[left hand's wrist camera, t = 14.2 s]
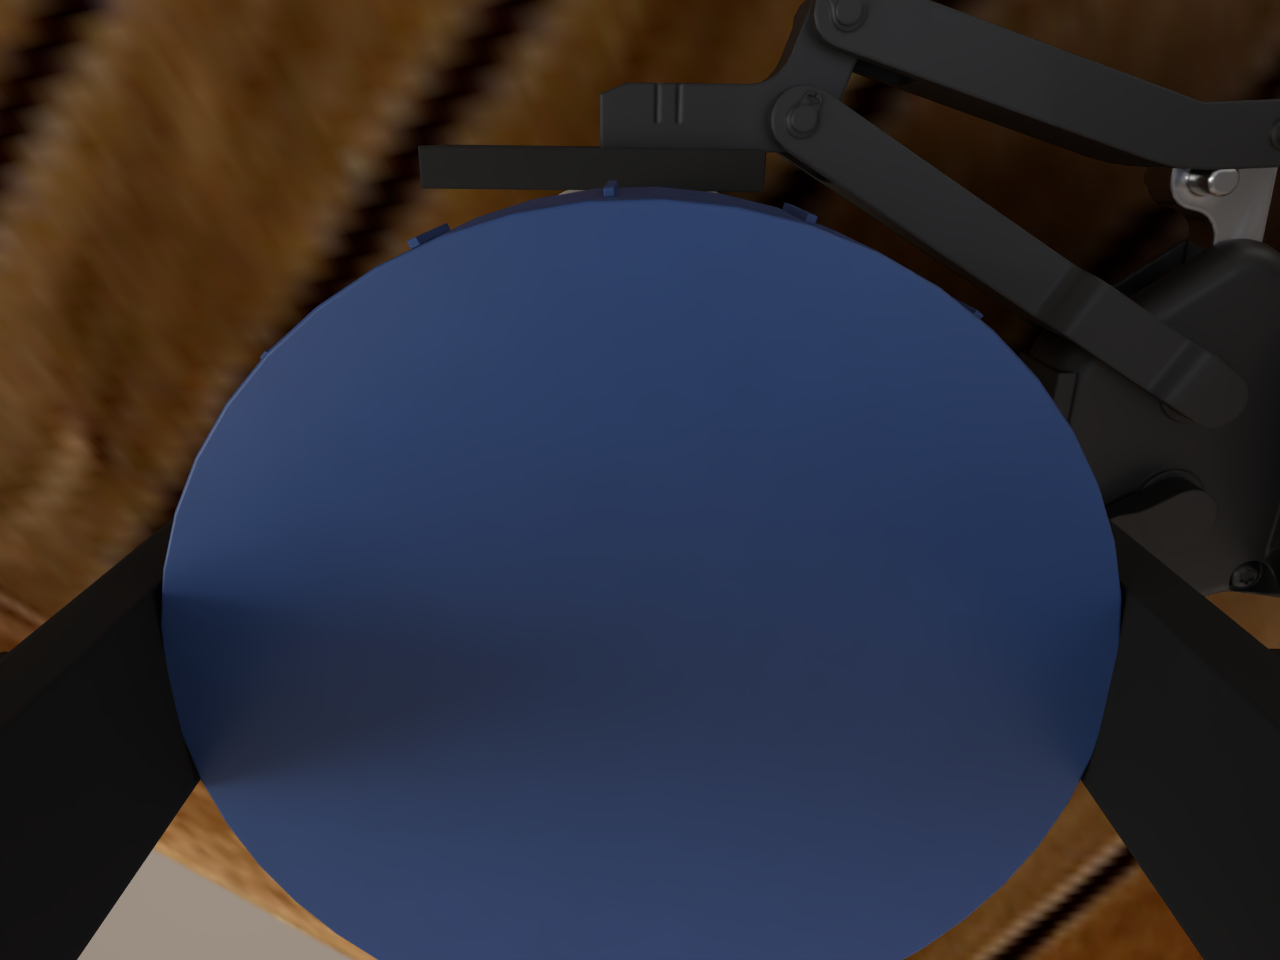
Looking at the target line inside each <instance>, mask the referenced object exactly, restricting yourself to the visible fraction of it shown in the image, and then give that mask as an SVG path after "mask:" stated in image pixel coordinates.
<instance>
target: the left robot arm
mask: <svg viewBox="0 0 1280 960" xmlns="http://www.w3.org/2000/svg"><path fill="white" fill-rule="evenodd" d="M173 520H174V518H173V519H171V520H170V521H169V522H168V523H166V524H165V525H164V526H163V527H162V528H160V529H159V530H158V531H157V532H155V533H154V534H153V535H152V536H151V537H149V538H148V539H147V540H146V541H144V542H143V543H142V544H141V545H140V546H138V547H137V548H136V549H135V550H133V551H132V552H131V553H130V554H128V555H127V556H126V557H125V558H124V559H122V560H121V561H120V562H119V563H117V564H116V565H115V566H114V567H113V568H111V569H110V570H109V571H108V572H106V573H105V574H104V575H103V576H102V577H100V578H99V579H98V580H97V581H95V582H94V583H93V584H92V585H91V586H89V587H88V588H87V589H86V590H84V591H83V592H82V593H81V594H80V595H78V596H77V597H76V598H75V599H73V600H72V601H71V602H70V603H68V604H67V605H66V606H65V607H64V608H62V609H61V610H60V611H59V612H57V613H56V614H55V615H54V616H53V617H51V618H50V619H49V620H48V621H46V622H45V623H44V624H43V625H42V626H40V627H39V628H38V629H37V630H35V631H34V632H33V633H32V634H31V635H29V636H28V637H27V638H26V639H24V640H23V641H22V642H21V643H20V644H18V645H17V646H16V647H15V648H13V649H12V650H11V651H10V652H1V653H0V960H77V959H78V957H79V956H80V955H81V953H82V952H83V950H84V949H85V947H86V946H87V944H88V943H89V941H90V940H91V938H92V937H93V936H94V934H95V933H96V931H97V930H98V928H99V927H100V925H101V924H102V922H103V921H104V919H105V918H106V917H107V915H108V914H109V912H110V911H111V909H112V908H113V906H114V905H115V903H116V902H117V900H118V899H119V898H120V896H121V895H122V893H123V892H124V890H125V889H126V887H127V886H128V884H129V883H130V881H131V880H132V879H133V877H134V876H135V874H136V873H137V871H138V870H139V868H140V867H141V865H142V864H143V862H144V861H145V860H146V858H147V857H148V855H149V854H150V852H151V851H152V849H153V848H154V846H155V845H156V843H157V842H158V841H159V839H160V838H161V836H162V835H163V833H164V832H165V830H166V829H167V827H168V826H169V824H170V823H171V821H172V820H173V819H174V817H175V816H176V814H177V813H178V811H179V810H180V808H181V807H182V805H183V804H184V802H185V801H186V800H187V798H188V797H189V795H190V794H191V792H192V791H193V789H194V788H195V786H196V785H197V783H198V782H199V781H200V776H199V774H198V772H197V769H196V767H195V765H194V762H193V760H192V757H191V755H190V753H189V750H188V748H187V746H186V743H185V741H184V738H183V735H182V731H181V727H180V723H179V719H178V714H177V710H176V706H175V702H174V697H173V693H172V688H171V684H170V679H169V675H168V670H167V665H166V660H165V655H164V650H163V641H162V632H161V609H162V587H163V568H164V564H165V559H166V554H167V549H168V544H169V539H170V534H171V529H172V524H173ZM1109 523H1110V527H1111V530H1112V534H1113V537H1114V541H1115V548H1116V556H1117V564H1118V573H1119V581H1120V590H1121V598H1122V602H1121V628H1120V640H1119V645H1118V651H1117V655H1116V660H1115V664H1114V669H1113V673H1112V678H1111V682H1110V686H1109V691H1108V695H1107V700H1106V704H1105V708H1104V713H1103V717H1102V722H1101V726H1100V730H1099V734H1098V738H1097V742H1096V746H1095V749H1094V752H1093V755H1092V758H1091V760H1090V761H1089V763H1088V765H1087V767H1086V769H1085V771H1084V773H1083V775H1082V777H1081V781H1082V782H1083V784H1084V785H1085V787H1086V788H1087V789H1088V791H1089V792H1090V794H1091V795H1092V797H1093V798H1094V800H1095V801H1096V803H1097V804H1098V806H1099V807H1100V808H1101V810H1102V811H1103V813H1104V814H1105V816H1106V817H1107V819H1108V820H1109V822H1110V823H1111V825H1112V826H1113V827H1114V829H1115V830H1116V832H1117V833H1118V835H1119V836H1120V838H1121V839H1122V841H1123V842H1124V844H1125V845H1126V846H1127V848H1128V849H1129V851H1130V852H1131V854H1132V855H1133V857H1134V858H1135V860H1136V861H1137V863H1138V864H1139V865H1140V867H1141V868H1142V870H1143V871H1144V873H1145V874H1146V876H1147V877H1148V879H1149V880H1150V882H1151V883H1152V884H1153V886H1154V887H1155V889H1156V890H1157V892H1158V893H1159V895H1160V896H1161V898H1162V899H1163V901H1164V902H1165V903H1166V905H1167V906H1168V908H1169V909H1170V911H1171V912H1172V914H1173V915H1174V917H1175V918H1176V920H1177V921H1178V922H1179V924H1180V925H1181V927H1182V928H1183V930H1184V931H1185V933H1186V934H1187V936H1188V937H1189V939H1190V940H1191V941H1192V943H1193V944H1194V946H1195V947H1196V949H1197V950H1198V952H1199V953H1200V955H1201V956H1202V958H1203V959H1204V960H1280V649H1268V648H1266V647H1265V646H1264V645H1263V644H1262V643H1260V642H1259V641H1258V640H1257V639H1255V638H1254V637H1253V636H1252V635H1251V634H1249V633H1248V632H1247V631H1246V630H1244V629H1243V628H1242V627H1241V626H1239V625H1238V624H1237V623H1236V622H1235V621H1233V620H1232V619H1231V618H1230V617H1228V616H1227V615H1226V614H1225V613H1224V612H1222V611H1221V610H1220V609H1219V608H1217V607H1216V606H1215V605H1214V604H1213V603H1211V602H1210V601H1209V600H1208V599H1206V598H1205V597H1204V596H1203V595H1201V594H1200V593H1199V592H1198V591H1197V590H1195V589H1194V588H1193V587H1192V586H1190V585H1189V584H1188V583H1187V582H1186V581H1184V580H1183V579H1182V578H1181V577H1179V576H1178V575H1177V574H1176V573H1175V572H1173V571H1172V570H1171V569H1170V568H1168V567H1167V566H1166V565H1165V564H1164V563H1162V562H1161V561H1160V560H1159V559H1157V558H1156V557H1155V556H1154V555H1152V554H1151V553H1150V552H1149V551H1148V550H1146V549H1145V548H1144V547H1143V546H1141V545H1140V544H1139V543H1138V542H1137V541H1135V540H1134V539H1133V538H1132V537H1130V536H1129V535H1128V534H1127V533H1126V532H1124V531H1123V530H1122V529H1121V528H1119V527H1118V526H1117V525H1116V524H1115V523H1113V522H1112V521H1111V520H1110V519H1109Z"/></svg>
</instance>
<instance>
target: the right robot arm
mask: <svg viewBox="0 0 1280 960" xmlns="http://www.w3.org/2000/svg"><path fill="white" fill-rule="evenodd" d="M852 72H853V73H856V74H859V75H862V76H864V77H867V78H870V79H873V80H876V81H878V82H881V83H884V84H887V85H890V86H892V87H895V88H898V89H901V90H903V91H906V92H909V93H912V94H915V95H917V96H920V97H923V98H926V99H928V100H931V101H934V102H937V103H940V104H942V105H945V106H948V107H951V108H953V109H956V110H959V111H962V112H965V113H967V114H970V115H973V116H976V117H979V118H981V119H984V120H987V121H990V122H992V123H995V124H998V125H1001V126H1004V127H1006V128H1009V129H1012V130H1015V131H1017V132H1020V133H1023V134H1026V135H1029V136H1031V137H1034V138H1037V139H1040V140H1042V141H1045V142H1048V143H1051V144H1054V145H1056V146H1059V147H1062V148H1065V149H1067V150H1070V151H1073V152H1076V153H1079V154H1081V155H1084V156H1087V157H1090V158H1094V159H1097V160H1101V161H1104V162H1108V163H1115V164H1122V165H1128V166H1144V167H1148V168H1147V170H1146V172H1145V175H1144V182H1145V184H1146V186H1147V188H1148V191H1149V195H1150V196H1151V197H1152V199H1153V200H1154V201H1155V202H1157V203H1158V204H1159V205H1162V206H1166V207H1170V208H1174V209H1176V210H1178V211H1179V212H1181V213H1182V214H1183V215H1184V217H1185V218H1186V220H1187V222H1188V226H1189V238H1187V239H1185V240H1182V241H1180V242H1178V243H1176V244H1175V245H1173V246H1172V247H1170V248H1168V249H1167V250H1165V251H1164V252H1162V253H1160V254H1159V255H1157V256H1156V257H1154V258H1153V259H1151V260H1149V261H1148V262H1146V263H1145V264H1143V265H1141V266H1140V267H1138V268H1137V269H1135V270H1133V271H1132V272H1130V273H1129V274H1127V275H1126V276H1124V277H1122V278H1121V279H1119V280H1118V281H1116V282H1114V283H1113V284H1111V285H1109V284H1108V283H1106V282H1105V281H1103V280H1101V279H1100V278H1098V277H1096V276H1095V275H1093V274H1091V273H1089V272H1087V271H1085V270H1083V269H1081V268H1079V267H1078V266H1076V265H1074V264H1073V263H1071V262H1070V261H1068V260H1067V259H1065V258H1064V257H1062V256H1061V255H1060V254H1058V253H1057V252H1055V251H1054V250H1052V249H1051V248H1050V247H1048V246H1047V245H1045V244H1044V243H1042V242H1041V241H1040V240H1038V239H1037V238H1035V237H1034V236H1032V235H1031V234H1029V233H1028V232H1027V231H1025V230H1024V229H1022V228H1021V227H1019V226H1018V225H1017V224H1015V223H1014V222H1012V221H1011V220H1009V219H1008V218H1007V217H1005V216H1004V215H1002V214H1001V213H999V212H998V211H996V210H995V209H994V208H992V207H991V206H989V205H988V204H986V203H985V202H984V201H982V200H981V199H979V198H978V197H976V196H975V195H974V194H972V193H971V192H969V191H968V190H966V189H965V188H964V187H962V186H961V185H959V184H958V183H956V182H955V181H953V180H952V179H951V178H949V177H948V176H946V175H945V174H943V173H942V172H941V171H939V170H938V169H936V168H935V167H933V166H932V165H931V164H929V163H928V162H926V161H925V160H923V159H922V158H921V157H919V156H918V155H916V154H915V153H913V152H912V151H910V150H909V149H908V148H906V147H905V146H903V145H902V144H900V143H899V142H898V141H896V140H895V139H893V138H892V137H890V136H889V135H888V134H886V133H885V132H883V131H882V130H880V129H879V128H877V127H876V126H875V125H873V124H872V123H870V122H869V121H867V120H866V119H865V118H863V117H862V116H860V115H859V114H857V113H856V112H855V111H853V110H852V109H850V108H849V107H847V106H846V105H845V104H843V103H842V102H840V100H841V98H842V95H843V93H844V90H845V88H846V86H847V83H848V81H849V79H850V76H851V74H852ZM418 152H419V165H420V179H421V188H440V189H525V190H590V189H598V188H604V187H605V185H606V184H607V182H608V181H609V180H618V188H629V187H667V188H676V189H685V190H695V191H704V192H764V180H765V163H766V152H776V153H778V154H779V155H781V156H782V157H784V158H785V159H787V160H788V161H790V162H791V163H792V164H794V165H795V166H797V167H798V168H800V169H801V170H803V171H804V172H806V173H807V174H809V175H810V176H812V177H813V178H815V179H816V180H818V181H819V182H821V183H822V184H824V185H825V186H827V187H828V188H830V189H831V190H833V191H834V192H836V193H837V194H839V195H840V196H842V197H843V198H845V199H846V200H847V201H849V202H850V203H852V204H853V205H855V206H856V207H858V208H859V209H861V210H862V211H864V212H865V213H867V214H868V215H870V216H871V217H873V218H874V219H876V220H877V221H879V222H880V223H882V224H883V225H885V226H886V227H888V228H889V229H891V230H892V231H894V232H895V233H897V234H898V235H899V236H901V237H902V238H904V239H905V240H907V241H908V242H910V243H911V244H913V245H914V246H916V247H917V248H919V249H920V250H922V251H923V252H925V253H926V254H928V255H929V256H931V257H932V258H934V259H935V260H937V261H938V262H940V263H941V264H943V265H944V266H946V267H947V268H949V269H950V270H952V271H953V272H954V273H956V274H957V275H959V276H960V277H962V278H963V279H965V280H966V281H968V282H969V283H971V284H972V285H974V286H975V287H977V288H978V289H980V290H981V291H983V292H984V293H986V294H987V295H989V296H990V297H991V298H993V300H994V301H996V302H997V303H998V304H1000V305H1001V306H1003V307H1004V308H1005V309H1007V310H1008V311H1010V312H1011V313H1013V314H1014V315H1016V316H1017V317H1019V318H1020V319H1022V320H1023V321H1025V322H1026V323H1028V324H1029V325H1031V326H1032V327H1034V328H1035V329H1037V330H1038V331H1040V332H1041V334H1040V336H1039V337H1038V338H1037V340H1036V341H1035V343H1034V345H1033V346H1032V348H1031V351H1020V355H1019V358H1020V359H1021V360H1022V361H1023V362H1024V363H1025V365H1026V366H1027V367H1028V368H1029V369H1030V370H1031V371H1032V372H1033V373H1034V374H1035V375H1036V376H1037V378H1038V379H1039V380H1040V382H1041V383H1042V385H1043V386H1044V388H1045V389H1046V391H1047V392H1048V394H1049V395H1050V397H1051V398H1052V400H1053V401H1054V403H1055V404H1056V405H1057V407H1058V408H1059V410H1060V411H1061V413H1062V414H1063V416H1064V417H1065V419H1066V420H1067V422H1068V423H1069V425H1070V426H1071V428H1072V429H1073V431H1074V433H1075V435H1076V437H1077V439H1078V442H1079V444H1080V446H1081V448H1082V450H1083V452H1084V455H1085V457H1086V459H1087V461H1088V463H1089V465H1090V467H1091V470H1092V472H1093V474H1094V476H1095V478H1096V480H1097V483H1098V485H1099V488H1100V491H1101V495H1102V498H1103V502H1104V505H1105V509H1106V512H1107V516H1108V519H1110V520H1111V521H1112V522H1113V523H1115V524H1116V525H1117V526H1118V527H1119V528H1121V529H1122V530H1123V531H1124V532H1126V533H1127V534H1128V535H1129V536H1130V537H1132V538H1133V539H1134V540H1135V541H1137V542H1138V543H1139V544H1140V545H1141V546H1143V547H1144V548H1145V549H1146V550H1148V551H1149V552H1150V553H1151V554H1152V555H1154V556H1155V557H1156V558H1157V559H1159V560H1160V561H1161V562H1162V563H1164V564H1165V565H1166V566H1167V567H1168V568H1170V569H1171V570H1172V571H1173V572H1175V573H1176V574H1177V575H1178V576H1179V577H1181V578H1182V579H1183V580H1184V581H1186V582H1187V583H1188V584H1189V585H1190V586H1192V587H1193V588H1194V589H1195V590H1197V591H1198V592H1199V593H1200V594H1201V595H1203V596H1207V595H1211V594H1214V593H1219V592H1225V591H1234V592H1244V593H1251V594H1258V595H1265V596H1272V597H1280V253H1279V252H1278V251H1277V250H1275V249H1274V248H1272V247H1271V246H1269V245H1267V244H1265V243H1262V240H1263V236H1264V231H1265V226H1266V221H1267V216H1268V211H1269V207H1270V202H1271V197H1272V192H1273V187H1274V182H1275V178H1276V173H1277V168H1278V167H1280V99H1270V100H1247V101H1224V102H1201V101H1199V100H1196V99H1193V98H1191V97H1188V96H1185V95H1183V94H1180V93H1177V92H1175V91H1172V90H1169V89H1167V88H1164V87H1161V86H1159V85H1156V84H1153V83H1151V82H1148V81H1145V80H1143V79H1140V78H1137V77H1134V76H1132V75H1129V74H1126V73H1124V72H1121V71H1118V70H1116V69H1113V68H1110V67H1108V66H1105V65H1102V64H1100V63H1097V62H1094V61H1092V60H1089V59H1086V58H1084V57H1081V56H1078V55H1076V54H1073V53H1070V52H1067V51H1065V50H1062V49H1059V48H1057V47H1054V46H1051V45H1049V44H1046V43H1043V42H1041V41H1038V40H1035V39H1033V38H1030V37H1027V36H1025V35H1022V34H1019V33H1017V32H1014V31H1011V30H1009V29H1006V28H1003V27H1000V26H998V25H995V24H992V23H990V22H987V21H984V20H982V19H979V18H976V17H974V16H971V15H968V14H966V13H963V12H960V11H958V10H955V9H952V8H950V7H947V6H944V5H942V4H939V3H936V2H933V1H931V0H806V1H805V2H804V3H802V4H801V5H800V7H799V9H798V11H797V13H796V14H795V16H794V22H793V28H792V31H791V34H790V36H789V39H788V41H787V44H786V46H785V49H784V51H783V54H782V56H781V59H780V61H779V63H778V65H777V67H776V69H775V70H774V71H773V72H772V74H771V75H770V76H769V77H768V78H766V79H765V80H764V81H762V82H761V83H754V84H703V83H624V84H622V85H620V86H617V87H615V88H613V89H610V90H608V91H605V92H603V93H601V94H600V146H516V145H429V146H418Z"/></svg>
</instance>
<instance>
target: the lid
mask: <svg viewBox="0 0 1280 960" xmlns="http://www.w3.org/2000/svg"><path fill="white" fill-rule="evenodd" d="M817 218H818V217H817V216H816V215H814V214H811V213H809V212H807V211H805V210H802V209H800V208H798V207H796V206H794V205H791V204H788V203H784V206H783V209H780V208H777V207H773V206H769V205H765V204H761V203H757V202H753V201H749V200H745V199H741V198H737V197H733V196H729V195H725V194H721V193H714V192H704V191H695V190H685V189H676V188H667V187H629V188H618V180H609V181H608V182H607V184H606V185H605V187H604V188H598V189H590V190H584V191H579V192H573V193H567V194H561V195H555V196H550V197H544V198H538V199H533V200H530V201H527V202H524V203H521V204H518V205H515V206H511V207H508V208H505V209H502V210H499V211H496V212H493V213H490V214H486V215H483V216H480V217H477V218H475V219H473V220H471V221H469V222H467V223H465V224H462V225H460V226H458V227H456V228H454V229H452V230H450V228H449V226H448V224H447V223H445V224H443V225H441V226H439V227H437V228H434V229H432V230H430V231H428V232H425V233H423V234H421V235H419V236H417V237H414V238H412V239H410V240H408V241H407V242H408V244H409V246H410V248H411V250H409V251H407V252H405V253H403V254H401V255H399V256H397V257H395V258H393V259H391V260H389V261H387V262H385V263H383V264H381V265H379V266H377V267H375V268H373V269H372V270H370V271H369V272H367V273H366V274H364V275H363V276H361V277H360V278H358V279H357V280H356V281H354V282H353V283H351V284H350V285H348V286H347V287H345V288H344V289H342V290H341V291H339V292H338V293H336V294H335V295H333V296H332V297H330V298H329V299H327V300H326V301H324V302H323V303H322V304H320V305H319V306H317V307H316V308H315V309H314V310H313V311H312V312H310V313H309V314H308V315H307V316H306V317H305V318H304V319H303V320H302V321H301V322H300V323H298V324H297V325H296V326H295V327H294V328H293V329H292V330H291V331H290V332H289V333H288V334H287V335H285V336H284V337H283V338H282V339H281V340H280V341H279V342H278V343H277V344H276V345H275V346H273V347H272V348H270V349H268V350H267V351H265V352H264V353H263V355H262V356H261V357H260V358H261V361H260V362H259V363H258V364H257V366H256V367H255V368H254V369H253V371H252V372H251V373H250V374H249V376H248V377H247V378H246V379H245V381H244V382H243V383H242V384H241V386H240V387H239V388H238V389H237V391H236V392H235V393H234V394H233V396H232V397H231V398H230V399H229V401H228V402H227V403H226V405H225V407H224V408H223V410H222V412H221V414H220V415H219V417H218V419H217V421H216V422H215V424H214V426H213V428H212V429H211V431H210V433H209V435H208V436H207V438H206V440H205V442H204V443H203V445H202V447H201V449H200V450H199V452H198V454H197V456H196V458H195V461H194V463H193V466H192V469H191V471H190V474H189V476H188V479H187V482H186V484H185V487H184V490H183V492H182V495H181V498H180V500H179V503H178V506H177V508H176V511H175V515H174V520H173V524H172V529H171V534H170V539H169V544H168V549H167V554H166V559H165V564H164V568H163V587H162V609H161V632H162V641H163V650H164V655H165V660H166V665H167V670H168V675H169V679H170V684H171V688H172V693H173V697H174V702H175V706H176V710H177V714H178V719H179V723H180V727H181V731H182V735H183V738H184V741H185V743H186V746H187V748H188V750H189V753H190V755H191V757H192V760H193V762H194V765H195V767H196V769H197V772H198V774H199V776H200V779H201V781H202V782H203V784H204V786H205V787H206V789H207V791H208V792H209V794H210V796H211V797H212V799H213V801H214V802H215V804H216V806H217V808H218V809H219V811H220V813H221V814H222V816H223V818H224V819H225V821H226V823H227V824H228V826H229V827H230V828H231V829H232V831H233V832H234V833H235V835H236V836H237V837H238V838H239V840H240V841H241V842H242V843H243V845H244V846H245V847H246V849H247V850H248V851H249V852H250V854H251V855H252V856H253V858H254V859H255V860H256V861H257V863H258V864H259V865H260V866H261V867H262V868H263V869H264V870H265V871H266V872H267V873H268V874H269V875H270V876H271V877H272V878H273V879H274V880H275V881H276V882H277V883H278V884H279V885H280V886H281V887H282V888H283V889H284V890H285V891H286V892H287V893H288V894H289V895H290V896H291V897H292V898H293V899H294V900H295V901H296V902H297V903H298V904H300V905H301V906H302V907H303V908H305V909H306V910H307V911H308V912H310V913H311V914H312V915H314V916H315V917H316V918H317V919H319V920H320V921H321V922H322V923H324V924H325V925H326V926H327V927H329V928H330V929H331V930H332V931H334V932H335V933H336V934H338V935H339V936H341V937H343V938H344V939H346V940H347V941H349V942H351V943H352V944H354V945H355V946H357V947H359V948H360V949H362V950H363V951H365V952H366V953H368V954H370V955H371V956H373V957H374V958H376V959H378V960H903V959H905V958H907V957H908V956H910V955H912V954H914V953H916V952H917V951H919V950H921V949H923V948H924V947H926V946H927V945H929V944H930V943H931V942H933V941H934V940H936V939H937V938H939V937H940V936H941V935H943V934H944V933H946V932H947V931H949V930H950V929H951V928H953V927H954V926H956V925H957V924H959V923H960V922H961V921H963V920H964V919H966V918H967V917H968V916H969V915H970V914H971V913H972V912H974V911H975V910H976V909H977V908H978V907H979V906H980V905H981V904H983V903H984V902H985V901H986V900H987V899H988V898H989V897H990V896H992V895H993V894H994V893H995V892H996V891H997V890H998V889H1000V888H1001V887H1002V886H1003V885H1004V884H1005V883H1006V882H1007V881H1008V880H1009V878H1010V877H1011V876H1012V875H1013V874H1014V873H1015V872H1016V871H1017V869H1018V868H1019V867H1020V866H1021V865H1022V864H1023V863H1024V862H1025V861H1026V859H1027V858H1028V857H1029V856H1030V855H1031V854H1032V853H1033V852H1034V850H1035V849H1036V848H1037V847H1038V846H1039V845H1040V843H1041V842H1042V840H1043V839H1044V837H1045V836H1046V834H1047V833H1048V832H1049V830H1050V829H1051V827H1052V826H1053V824H1054V823H1055V821H1056V820H1057V819H1058V817H1059V816H1060V814H1061V813H1062V811H1063V810H1064V808H1065V807H1066V806H1067V804H1068V802H1069V801H1070V799H1071V797H1072V795H1073V793H1074V791H1075V789H1076V787H1077V785H1078V783H1079V781H1080V779H1081V777H1082V775H1083V773H1084V771H1085V769H1086V767H1087V765H1088V763H1089V761H1090V760H1091V758H1092V755H1093V752H1094V749H1095V746H1096V742H1097V738H1098V734H1099V730H1100V726H1101V722H1102V717H1103V713H1104V708H1105V704H1106V700H1107V695H1108V691H1109V686H1110V682H1111V678H1112V673H1113V669H1114V664H1115V660H1116V655H1117V651H1118V645H1119V640H1120V628H1121V602H1122V598H1121V590H1120V581H1119V573H1118V564H1117V556H1116V548H1115V541H1114V537H1113V534H1112V530H1111V527H1110V523H1109V519H1108V516H1107V512H1106V509H1105V505H1104V502H1103V498H1102V495H1101V491H1100V488H1099V485H1098V483H1097V480H1096V478H1095V476H1094V474H1093V472H1092V470H1091V467H1090V465H1089V463H1088V461H1087V459H1086V457H1085V455H1084V452H1083V450H1082V448H1081V446H1080V444H1079V442H1078V439H1077V437H1076V435H1075V433H1074V431H1073V429H1072V428H1071V426H1070V425H1069V423H1068V422H1067V420H1066V419H1065V417H1064V416H1063V414H1062V413H1061V411H1060V410H1059V408H1058V407H1057V405H1056V404H1055V403H1054V401H1053V400H1052V398H1051V397H1050V395H1049V394H1048V392H1047V391H1046V389H1045V388H1044V386H1043V385H1042V383H1041V382H1040V380H1039V379H1038V378H1037V376H1036V375H1035V374H1034V373H1033V372H1032V371H1031V370H1030V369H1029V368H1028V367H1027V366H1026V365H1025V363H1024V362H1023V361H1022V360H1021V359H1020V358H1019V357H1018V356H1017V355H1016V354H1015V353H1014V352H1013V351H1012V349H1011V348H1010V347H1009V346H1008V345H1007V344H1006V343H1005V342H1004V341H1003V340H1002V339H1001V338H1000V336H999V335H998V334H997V333H996V332H995V331H994V330H993V329H992V328H990V327H989V326H988V325H987V324H985V323H984V322H983V321H982V320H980V319H981V318H982V317H983V315H982V314H981V313H980V312H979V311H978V310H976V309H974V308H972V307H970V306H968V305H966V304H965V303H963V302H961V301H959V300H957V299H955V298H953V297H951V296H950V295H949V294H948V293H946V292H945V291H944V290H943V289H941V288H940V287H939V286H937V285H935V284H933V283H932V282H930V281H928V280H927V279H925V278H923V277H921V276H920V275H918V274H916V273H914V272H913V271H911V270H909V269H908V268H906V267H904V266H902V265H901V264H899V263H897V262H896V261H894V260H892V259H890V258H889V257H887V256H885V255H883V254H882V253H880V252H878V251H876V250H874V249H872V248H870V247H868V246H866V245H864V244H862V243H860V242H858V241H856V240H853V239H851V238H849V237H847V236H845V235H843V234H841V233H839V232H837V231H835V230H832V229H830V228H827V227H825V226H822V225H820V224H817V223H816V220H817Z"/></svg>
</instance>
